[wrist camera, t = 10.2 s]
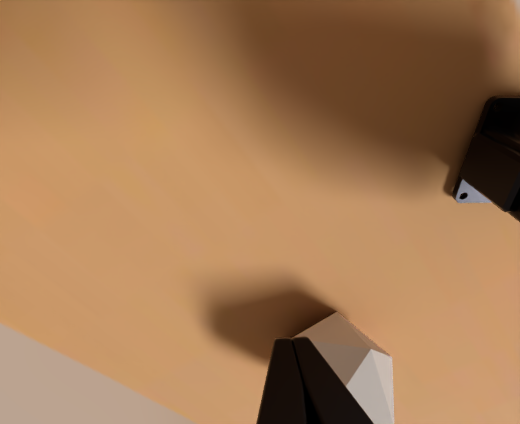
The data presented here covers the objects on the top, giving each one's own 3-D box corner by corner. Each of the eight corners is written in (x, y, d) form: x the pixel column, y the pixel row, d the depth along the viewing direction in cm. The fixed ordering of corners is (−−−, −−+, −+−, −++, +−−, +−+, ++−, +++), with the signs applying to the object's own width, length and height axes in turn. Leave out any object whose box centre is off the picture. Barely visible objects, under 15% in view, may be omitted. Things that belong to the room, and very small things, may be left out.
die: (262, 297, 27) (240, 446, 23) (377, 302, 22) (373, 489, 19) (309, 317, 33) (298, 438, 29) (408, 324, 28) (409, 469, 25)
